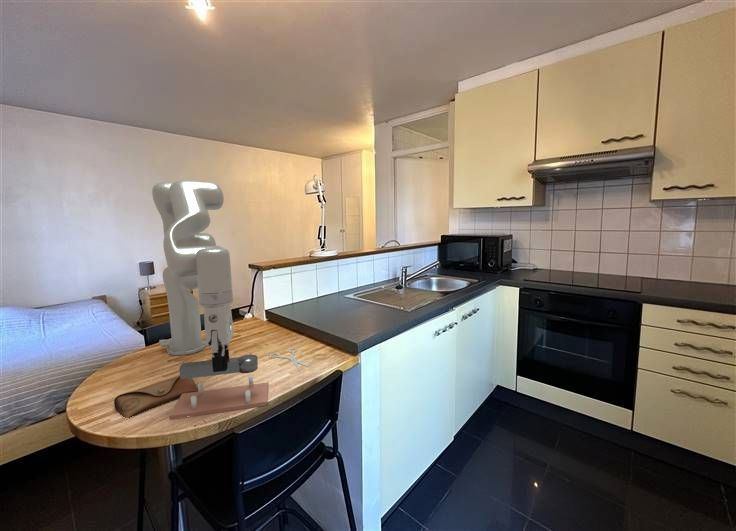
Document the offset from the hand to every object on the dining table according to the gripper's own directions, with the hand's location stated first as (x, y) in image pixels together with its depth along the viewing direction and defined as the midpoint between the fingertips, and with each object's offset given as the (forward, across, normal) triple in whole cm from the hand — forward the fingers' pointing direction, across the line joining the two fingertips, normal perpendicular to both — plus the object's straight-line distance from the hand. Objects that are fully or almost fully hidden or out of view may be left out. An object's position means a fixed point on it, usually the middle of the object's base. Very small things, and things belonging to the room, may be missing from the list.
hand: (221, 367), depth 79 cm
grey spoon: (+1, 0, 0) cm, 1 cm away
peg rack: (+9, 0, 0) cm, 9 cm away
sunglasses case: (+10, +6, +17) cm, 20 cm away
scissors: (+10, +21, -18) cm, 29 cm away
